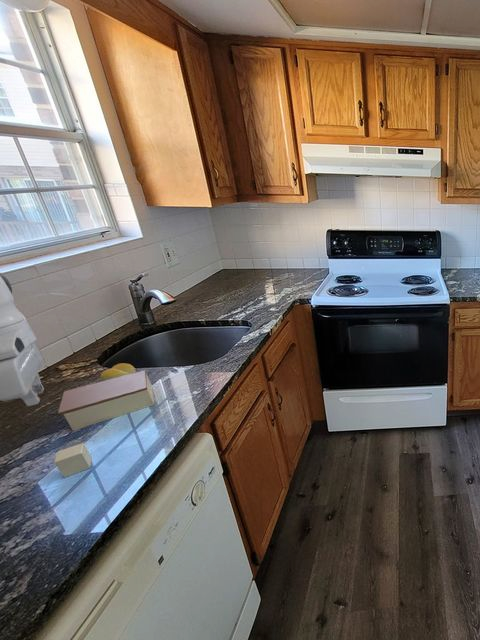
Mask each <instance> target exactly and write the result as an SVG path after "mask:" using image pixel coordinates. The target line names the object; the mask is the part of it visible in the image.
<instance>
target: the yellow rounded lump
mask: <svg viewBox="0 0 480 640" xmlns="http://www.w3.org/2000/svg"><path fill="white" fill-rule="evenodd" d="M135 369H136V368H135V367H134V366H133V365H132V364H130V363H125V362H123V363H122V362H121V363H117V364H115V365H113V366H112V367H111V368H107V369H105V370H103V371H102V372H101V373H100V375H99V379H100V382H102V381H106V380H110V379H113V378H117V377H121V376H125V375H129V374H132V373H136V372H137V369H136V370H135Z"/></svg>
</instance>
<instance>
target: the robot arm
mask: <svg viewBox="0 0 480 640" xmlns="http://www.w3.org/2000/svg"><path fill="white" fill-rule="evenodd" d="M36 341H37V336H36V334H35V333H34V330H33V329H32V328H31V326H30V324H29V322H28V320H27V318H26V317H25V315H24V314H23V313H22V312H21V311H20V310H19V309H18V308H17V306H16V304H15V299H14V295H13V287H12V285H11V283H10V280H9V279H8V278H7V277H6V276H5V275H4V274H2V273H1V272H0V401H1V402H8V401H11V400H15V399H19V398H20V399H21V400H23V402H24V404H25V405H26V406H27V407H31V406H35V405H38V404H39V403H40V401H41V398H40V396H39V395H41V394H43V393H44V391H45V387H44V386H43V384H42V381H41V378H40V374H39V371H40V369H41V367H42V364H43V362H44V357H43V354H42V352H41V351H40V349H39V347H38V346H37V344H36V343H35V342H36Z"/></svg>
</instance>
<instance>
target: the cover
mask: <svg viewBox="0 0 480 640" xmlns="http://www.w3.org/2000/svg"><path fill="white" fill-rule="evenodd" d="M146 374H147V371H146V369H144V370H140V371H136V373H132V374H129V375H125V376H121V377H117V378H113V379H110V380H106V381H99V382H95V383H91V384H86V385H84V386H79V387H76V388H72V389H68V390H64V391H63V394H62V397H61V401H60V404H59V408H58V411H57V415H58V416H60V415H64V413H67V412H71V411H74V410H78V409H81V408H85V407H88V406H92V405H95V404H99V403H102V402H105V401H109V400H112V399H116V398H119V397H123V396H126V395H130V394H133V393H137V392H140V391H144V390H147V380H146Z"/></svg>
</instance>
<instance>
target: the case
mask: <svg viewBox="0 0 480 640" xmlns="http://www.w3.org/2000/svg"><path fill="white" fill-rule="evenodd" d="M146 380H147V390H144V391H140V392H137V393H133V394H130V395H126V396H123V397H119V398H116V399H112V400H109V401H105V402H102V403H99V404H95V405H92V406H88V407H85V408H81V409H78V410H74V411H71V412H67V413H64V414H63V417H64V418H65V420H66V421H67V423H68V425H69V427H70V428H71V430H72V432H74V431H77V430H79V429H83V428H86V427H89V426H92V425H93V426H94V425H96V424H99V423H102V422H105V421H108V420H112V419H115V418H118V417H121V416H124V415H127V414H130V413H134V412H137V411H139V410H143V409H146V408H148V407H152V406H155V399H154V391H153V385H152V383H151V380H150V379H149V376H148V373H146Z"/></svg>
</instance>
